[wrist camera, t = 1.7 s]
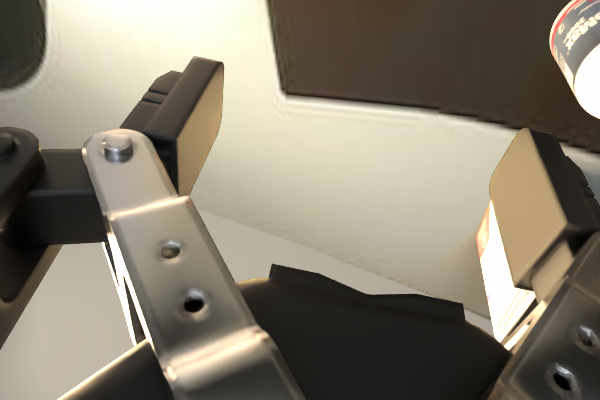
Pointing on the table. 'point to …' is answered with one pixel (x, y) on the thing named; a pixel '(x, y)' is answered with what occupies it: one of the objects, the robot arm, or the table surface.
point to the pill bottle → (579, 50)
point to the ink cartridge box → (499, 278)
